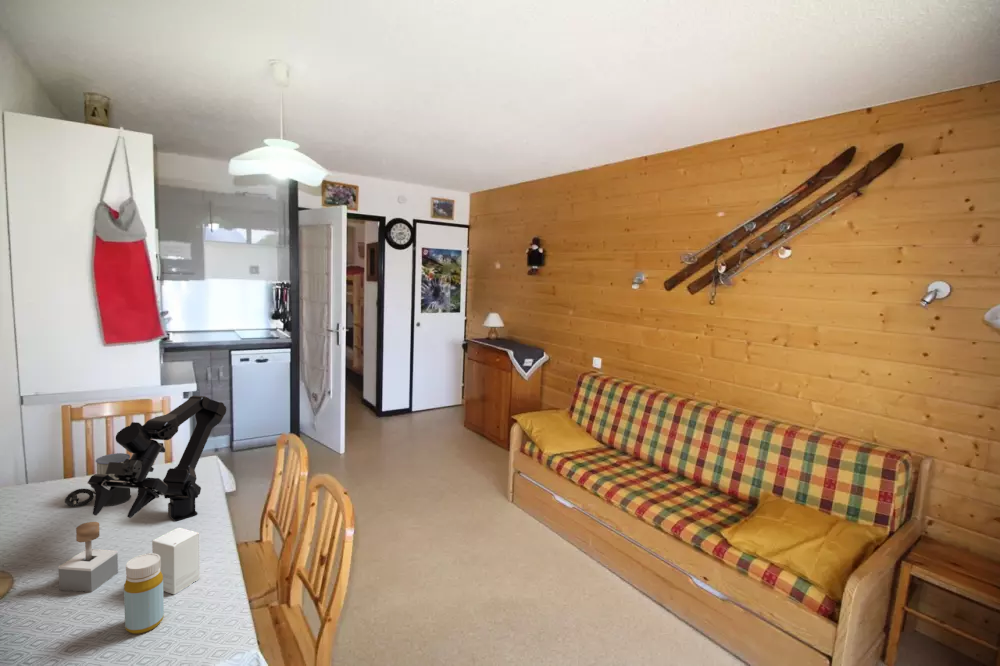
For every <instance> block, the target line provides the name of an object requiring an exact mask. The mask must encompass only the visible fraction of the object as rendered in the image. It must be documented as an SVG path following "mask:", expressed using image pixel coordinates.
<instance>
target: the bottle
mask: <svg viewBox="0 0 1000 666" xmlns="http://www.w3.org/2000/svg"><path fill="white" fill-rule="evenodd" d="M160 566H161V561H160V556H159V555H158V554H153V552H152V553H144V554H140V555H136V556H135V557H133V558H131V559H130V560H128V561H127V562H126V565H125V577H126V578H125V582H124V586H123V599H124V600H123V602H124V603H123V604H124V607H123V608H124V626H125V627H124V628H125V631H127V632H128V633H130V634H133V635H136V634H137V635H139V634H145V633H147V632H150V631H151V630H154V629H155V628H156V627H158V626H159V624H160V623H162V621H163V620H164V615H165V610H164V607H165V605H164V601H165V600H164V591H163V575H162V573H161V571H160Z"/></svg>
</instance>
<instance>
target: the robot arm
mask: <svg viewBox="0 0 1000 666" xmlns="http://www.w3.org/2000/svg"><path fill="white" fill-rule="evenodd" d="M226 413H227V407H226V405H225V403H224V402H222V401H216V400H213V399H210V398H209V397H207V396H206V395H191V396H190V397H189V398H188V399H187V400H186V401H184V402H183V403H182V404H180V405H179V406H177V407H175V408H174V409H173V410H171V411H170V412H168V413H167V414H164V415H159V416H155V417H153V418H151V419H148V420H147V421H146V422H145V423H144V424H143V425H142V423H140V422H134V421H133V422H131V423H130V425H127V426H125V427H123V428H121V429H120V431H118V432H117V433H116V434H115V435H116V436H115V442H116V443H117V444H119V445H120V446H122V448H124V449H125V450H126V451H127V452H128V453H130V454H132V455H131V456H130V458H129V459H126V460H125V461H124V462H123V463H117V462H109V464H108V467H107V470H106V473H105V474H115V475H114V477H116V478H119V480H115V479H113V478H112V477H110V476H109V475H103V474H97V473H95V474H93V475H91V476H90V477H89V479H88V481H87V484H88V485H90V488H92V489H93V490H94V492H95V494H94V503H93V510H92V515H93V516H98V514H99V513H100V512H101V511H102V510H103V509H104V507H106V506H105V504H106V503H107V502H108V500H109V499H110V498H111V496H112V495H113V493H112V492H111V491H113V490H115V489H116V487H121V488H130V489H134V490H135V489H136V490H137V495H136V498H135V499H134V502H133V503H132V505H131V507H130V509H129V511H128V513H127V515H126V516H127V518H128V519H131V518H132V517H134V516H135V515H136V514H137V513H138V512H140V511H141V510H142V509H143V508H144V507H145V506H147V505H148V504H150V503H151V502H152V501H154V500H155V499H159V498H160V496H163V497H164V499H169V502H168V503H167V516H168V517H170V518H171V519H172V520H173V521H175V522H177V521H181V520H183V519H187V518H190V517H193V516H197V515H198V514H199V513H198V512H197V511H196V499H197V498H199V496H200V494H201V490H202V488H201V486H200V485H199V484H197V483H196V482H197V474H196V467H197V465H198V463H199V460H200V459H201V456H202V453H203V451H204V449H205V446H206V444H207V442H208V439H209V437H210V435H211V433H212V431H213V428H215V427H216V426H218V425H219V424H220V423H221V422H222V420H223V418H224V416H225V415H226ZM193 416H194V417H195V421H196V425H195V427H194V428H193V431H192V432H191V433H192V434H191V435H190V437H189V440H188V442H187V444H186V447H185V449H184V451H183V453H182V455H181V458H180V460H179V462H178V464H177V465H176V466H175V467H174V468H171V467H170V468H168V470H167V471H166V474H165V476H164V478H163V479H161V478H159V477H148V475H149V473H153V471H154V470H155V468H154V467H153V465H154V464H155V461H156V459H157V458H158V455H159V454H160V453H166V448H165V446H164V443H163V442H158V441H169V440H171V439H172V438H173V437H174V436H176V435H177V433H178V432H179V427H180V426H181V425H182V424H183V423H185V422H186V421H188V420H189V419H190V418H191V417H193Z"/></svg>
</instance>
